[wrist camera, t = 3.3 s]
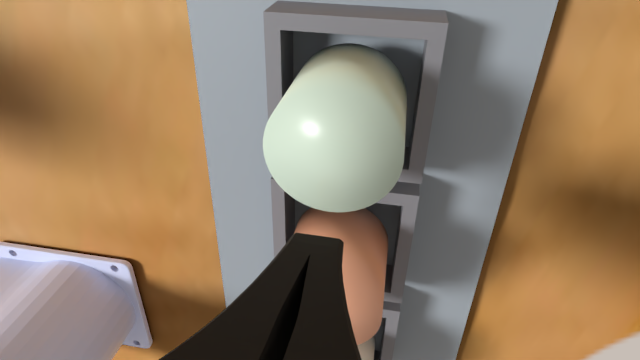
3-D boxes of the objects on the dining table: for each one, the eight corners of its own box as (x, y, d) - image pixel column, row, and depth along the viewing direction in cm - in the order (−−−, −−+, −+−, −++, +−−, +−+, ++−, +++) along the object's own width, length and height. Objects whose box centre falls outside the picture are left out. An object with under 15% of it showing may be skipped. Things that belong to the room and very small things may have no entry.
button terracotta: (295, 267, 23) (272, 338, 19) (295, 195, 21) (268, 261, 17) (383, 280, 22) (376, 356, 19) (393, 207, 20) (387, 278, 16)
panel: (234, 342, 31) (220, 376, 29) (185, -58, 18) (153, -50, 16) (447, 378, 29) (449, 418, 27) (564, -41, 16) (588, -31, 14)
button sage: (294, 144, 19) (265, 204, 16) (293, 39, 17) (259, 79, 13) (400, 155, 19) (395, 220, 15) (414, 47, 16) (413, 93, 13)
